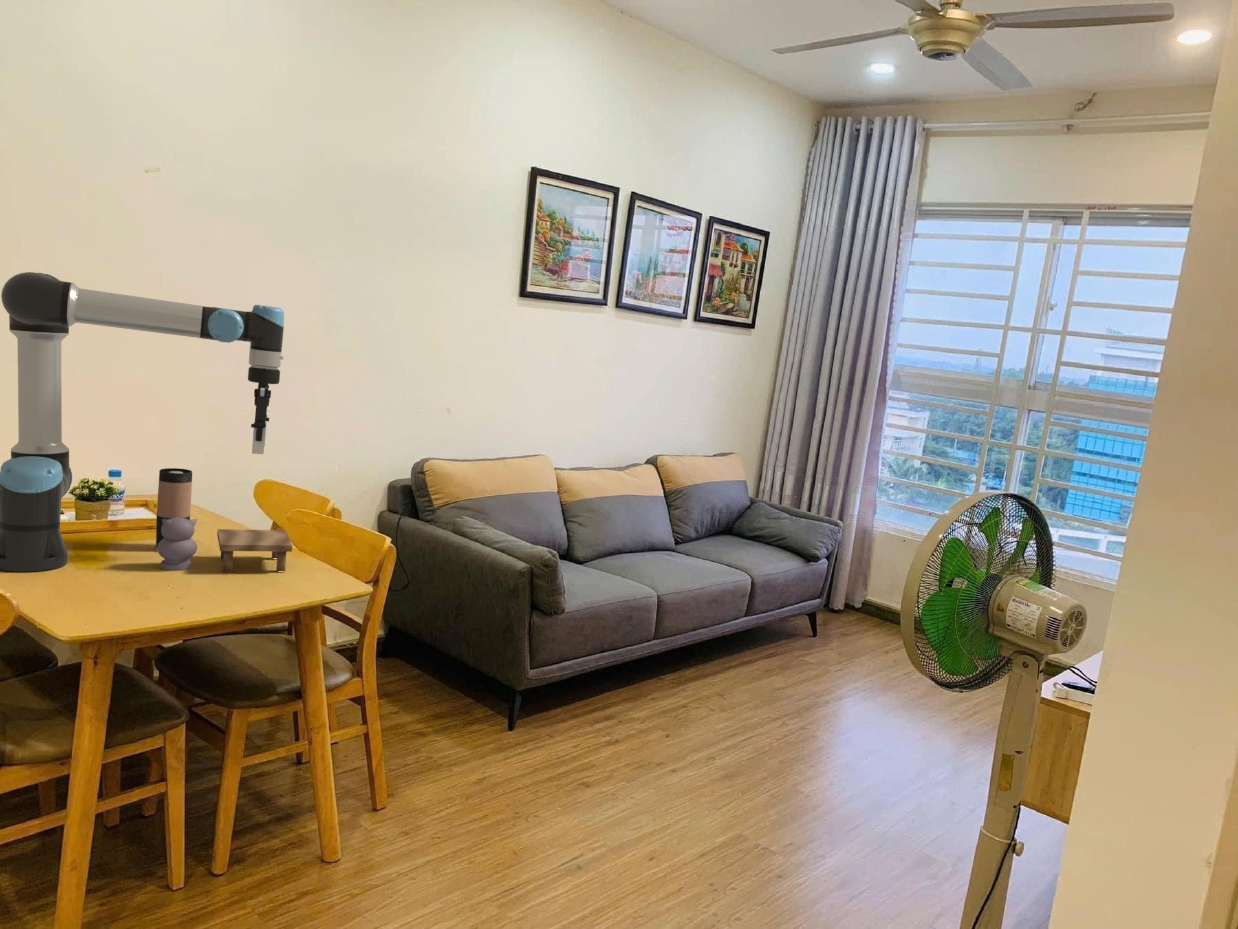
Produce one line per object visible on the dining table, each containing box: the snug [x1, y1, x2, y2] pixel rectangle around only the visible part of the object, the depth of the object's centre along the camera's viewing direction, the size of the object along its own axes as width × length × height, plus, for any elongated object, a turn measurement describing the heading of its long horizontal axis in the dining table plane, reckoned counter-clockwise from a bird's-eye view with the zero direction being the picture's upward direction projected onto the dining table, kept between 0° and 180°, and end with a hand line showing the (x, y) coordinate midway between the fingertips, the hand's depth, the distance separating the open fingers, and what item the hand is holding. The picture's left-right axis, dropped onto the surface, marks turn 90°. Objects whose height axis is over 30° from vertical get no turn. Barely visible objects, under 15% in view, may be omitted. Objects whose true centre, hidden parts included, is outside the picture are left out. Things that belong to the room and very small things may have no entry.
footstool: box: [216, 528, 293, 574], centre depth 225 cm, size 16×16×7 cm
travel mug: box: [155, 467, 193, 550], centre depth 230 cm, size 8×8×20 cm
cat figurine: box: [156, 517, 198, 572], centre depth 215 cm, size 8×8×12 cm
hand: (258, 449), depth 234 cm, fingers open, 13 cm apart
